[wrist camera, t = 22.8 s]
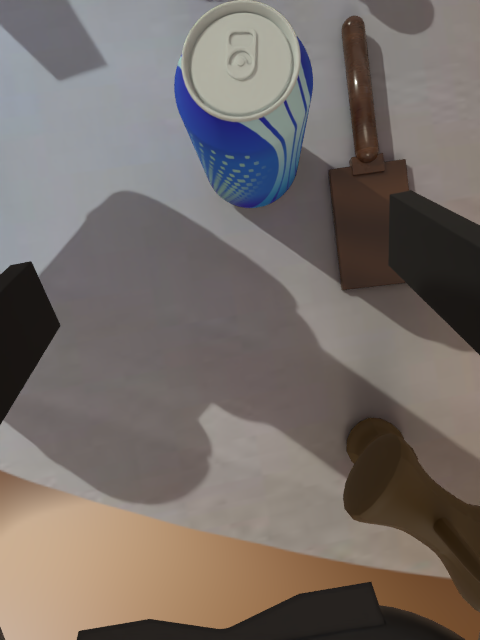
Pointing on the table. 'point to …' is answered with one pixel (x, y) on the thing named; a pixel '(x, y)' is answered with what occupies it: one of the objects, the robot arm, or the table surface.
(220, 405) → the table surface
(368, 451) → the kendama
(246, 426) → the table surface
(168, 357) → the table surface
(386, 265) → the spatula
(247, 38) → the beer can
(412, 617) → the robot arm
